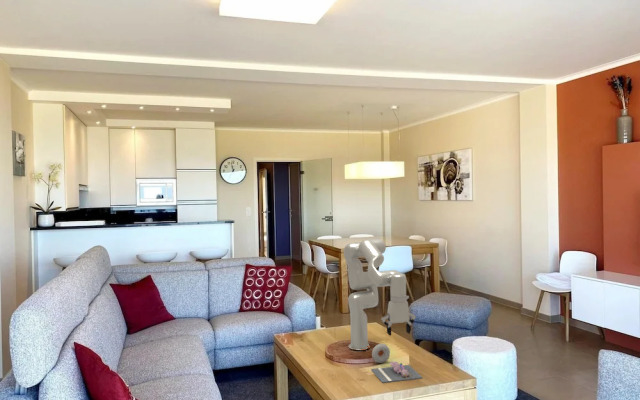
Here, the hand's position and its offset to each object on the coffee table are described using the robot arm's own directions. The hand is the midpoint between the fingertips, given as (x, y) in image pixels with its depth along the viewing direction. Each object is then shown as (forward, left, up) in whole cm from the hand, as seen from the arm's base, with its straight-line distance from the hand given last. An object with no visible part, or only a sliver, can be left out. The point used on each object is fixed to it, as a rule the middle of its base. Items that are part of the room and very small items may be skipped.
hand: (398, 333), depth 233 cm
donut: (-16, -4, -20) cm, 26 cm away
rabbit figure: (+1, 0, -19) cm, 19 cm away
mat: (0, -2, -20) cm, 20 cm away
